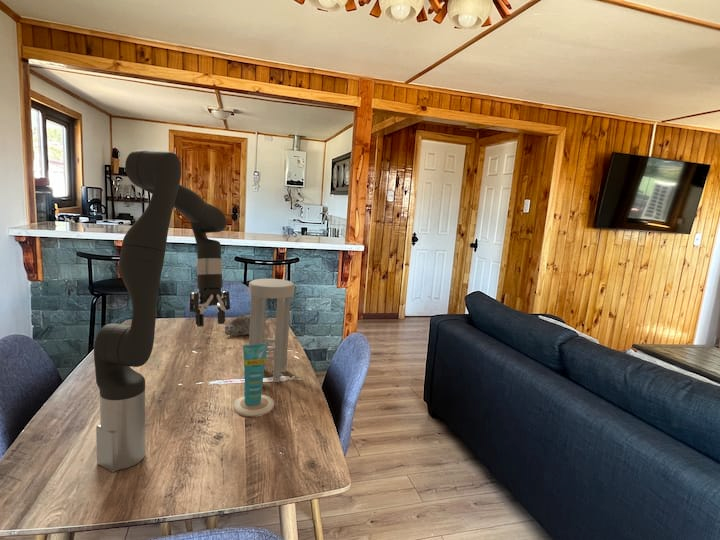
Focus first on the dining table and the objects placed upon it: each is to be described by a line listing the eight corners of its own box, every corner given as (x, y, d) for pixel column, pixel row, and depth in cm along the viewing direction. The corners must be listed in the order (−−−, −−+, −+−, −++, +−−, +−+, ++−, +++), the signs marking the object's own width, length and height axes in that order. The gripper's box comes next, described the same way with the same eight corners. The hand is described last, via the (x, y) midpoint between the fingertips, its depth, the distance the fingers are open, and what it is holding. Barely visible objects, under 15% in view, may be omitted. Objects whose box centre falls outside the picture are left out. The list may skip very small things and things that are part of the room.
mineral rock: (224, 338, 187) (224, 316, 185) (225, 330, 197) (226, 310, 196) (253, 338, 190) (254, 317, 188) (253, 330, 200) (254, 311, 199)
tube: (243, 408, 124) (245, 347, 121) (238, 401, 128) (241, 342, 125) (267, 403, 128) (270, 345, 125) (261, 397, 132) (264, 340, 129)
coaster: (255, 420, 120) (256, 416, 120) (225, 408, 125) (225, 404, 125) (281, 404, 131) (281, 400, 131) (252, 394, 136) (252, 390, 136)
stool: (283, 386, 144) (288, 288, 138) (239, 381, 145) (243, 284, 139) (292, 368, 159) (298, 280, 154) (253, 364, 160) (257, 276, 154)
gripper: (200, 272, 121) (201, 327, 120) (235, 273, 134) (236, 323, 133) (182, 273, 124) (183, 327, 124) (218, 274, 137) (219, 322, 136)
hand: (211, 325), depth 128 cm, fingers open, 8 cm apart
